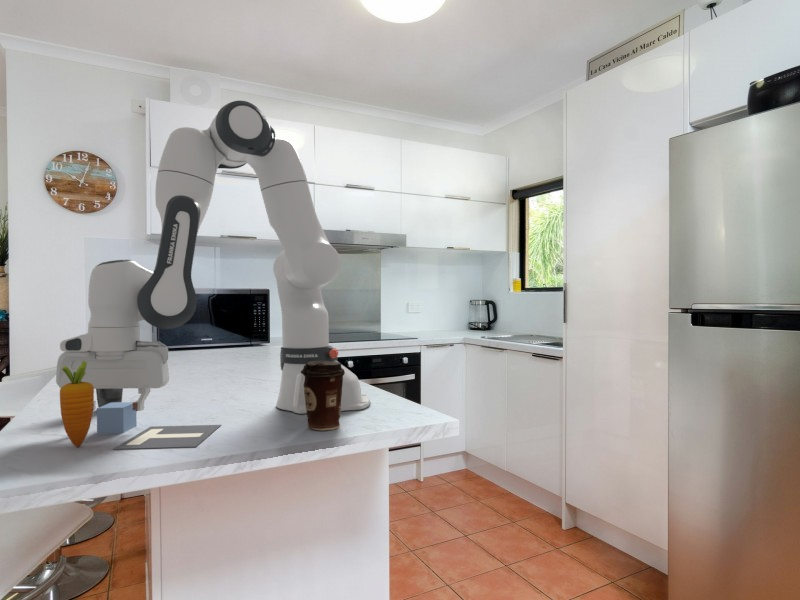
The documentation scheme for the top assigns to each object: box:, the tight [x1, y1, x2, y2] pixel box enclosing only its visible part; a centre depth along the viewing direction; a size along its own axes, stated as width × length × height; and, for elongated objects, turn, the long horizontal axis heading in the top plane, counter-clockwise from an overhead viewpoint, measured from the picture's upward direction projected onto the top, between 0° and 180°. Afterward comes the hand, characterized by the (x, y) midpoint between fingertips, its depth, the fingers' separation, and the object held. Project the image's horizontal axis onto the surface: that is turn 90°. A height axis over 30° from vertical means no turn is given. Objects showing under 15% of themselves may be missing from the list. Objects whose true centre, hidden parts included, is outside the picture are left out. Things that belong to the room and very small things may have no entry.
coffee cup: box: [301, 361, 345, 432], centre depth 95 cm, size 9×8×13 cm
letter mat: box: [112, 424, 222, 451], centre depth 89 cm, size 14×14×1 cm
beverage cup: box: [95, 388, 124, 408], centre depth 111 cm, size 7×7×20 cm
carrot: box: [59, 361, 95, 448], centre depth 83 cm, size 5×5×15 cm
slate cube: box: [96, 401, 138, 434], centre depth 94 cm, size 5×5×5 cm
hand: (113, 410), depth 94 cm, fingers open, 8 cm apart
